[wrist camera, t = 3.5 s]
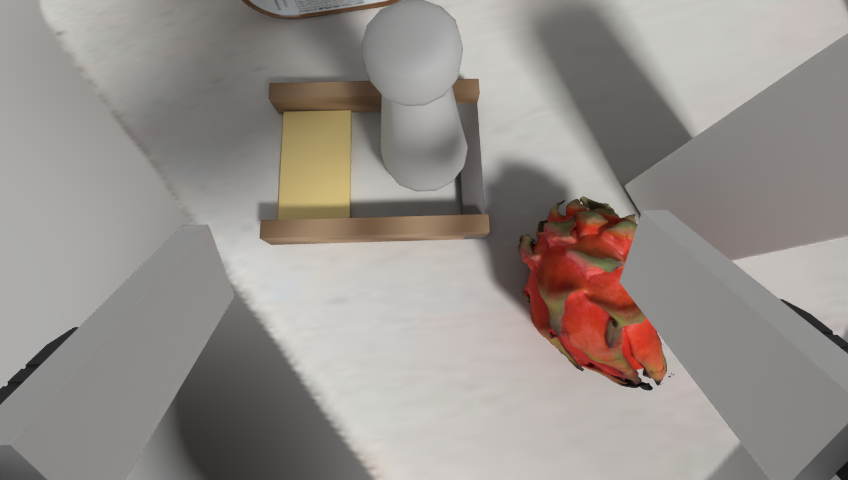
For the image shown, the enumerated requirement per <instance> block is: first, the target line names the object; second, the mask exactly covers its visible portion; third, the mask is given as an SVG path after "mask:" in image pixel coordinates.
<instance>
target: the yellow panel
mask: <svg viewBox="0 0 848 480" xmlns="http://www.w3.org/2000/svg"><path fill="white" fill-rule="evenodd" d="M350 205H351V110H337V111H293V112H284V114H283V132H282V151H281V169H280V188H279V206H278V220H296V219H332V218H350Z"/></svg>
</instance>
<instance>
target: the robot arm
mask: <svg viewBox="0 0 848 480" xmlns="http://www.w3.org/2000/svg"><path fill="white" fill-rule="evenodd" d="M619 282H620V283H621V285H622V286H623V287H624V289H625V290H626V291H627V293H628V294H629V295H630V297H631V298H632V299H633V301H634V302H635V303H636V305H637V306H638V307H639V308H640V310H641V311H642V312H643V314H644V315H645V316H646V318H647V319H648V320H649V322H650V323H651V324H652V326H653V327H654V328H655V330H656V331H657V332H658V333H659V335H660V336H661V337H662V339H663V340H664V341H665V343H666V344H667V345H668V347H669V348H670V349H671V351H672V352H673V353H674V355H675V356H676V357H677V358H678V360H679V361H680V362H681V364H682V365H683V366H684V368H685V369H686V370H687V372H688V373H689V374H690V376H691V377H692V378H693V380H694V381H695V382H696V384H697V385H698V386H699V387H700V389H701V390H702V391H703V393H704V394H705V395H706V397H707V398H708V399H709V401H710V402H711V403H712V405H713V406H714V407H715V409H716V410H717V411H718V412H719V414H720V415H721V416H722V418H723V419H724V420H725V422H726V423H727V424H728V426H729V427H730V428H731V430H732V431H733V432H734V434H735V435H736V436H737V437H738V439H739V440H740V441H741V443H742V444H743V445H744V446H745V448H746V449H747V451H748V452H749V453H750V455H751V456H752V457H753V459H754V460H755V461H756V462H757V464H758V465H759V466H760V468H761V469H762V470H763V472H764V473H765V474H766V476H767V477H768V478H769V479H770V480H830V479H831V478H833V477H834V476H835V475H837V476H838V477H839V478H840V479H841V480H848V343H847V342H845V340H843V339H842V338H841V337H839V336H838V335H833V333H832V332H833V331H832V330H830V329H829V328H828V327H826V326H825V325H824V324H823V323H821V322H820V321H819V320H817V319H816V318H815V317H814V316H812V315H811V314H809V313H808V312H806V311H804V310H802V309H800V308H798V307H796V306H794V305H792V304H790V303H789V302H787V301H785V300H783V299H778V298H777V297H776V296H775V295H773V294H772V293H771V292H770V291H768V290H767V289H766V288H765V287H763V286H762V285H761V284H760V283H758V282H757V281H756V280H754V279H753V278H752V277H751V276H749V275H748V274H747V273H746V272H744V271H743V270H742V269H741V268H739V267H738V266H737V265H736V264H734V263H733V262H732V261H731V260H729V259H728V258H727V257H726V256H724V255H723V254H722V253H721V252H719V251H718V250H717V249H716V248H714V247H713V246H712V245H711V244H709V243H708V242H707V241H706V240H704V239H703V238H702V237H700V236H699V235H698V234H697V233H695V232H694V231H693V230H692V229H690V228H689V227H688V226H687V225H685V224H684V223H683V222H682V221H680V220H679V219H678V218H677V217H675V216H674V215H673V214H672V213H670V212H669V211H668V210H648V211H642V213H641V216H640V219H639V223H638V226H637V229H636V232H635V235H634V238H633V241H632V244H631V247H630V250H629V253H628V256H627V259H626V262H625V265H624V269H623V272H622V275H621V278H620V281H619ZM233 297H234V293H233V291H232V288H231V285H230V282H229V280H228V277H227V274H226V272H225V269H224V266H223V263H222V261H221V258H220V255H219V252H218V250H217V247H216V244H215V242H214V239H213V236H212V233H211V231H210V228H209V225H184V226H181V227H180V228H179V229H178V230H177V231H176V232H175V233H174V234H173V235H172V236H171V237H170V238H169V239H168V240H167V241H166V242H165V243H164V244H163V245H162V246H161V247H160V248H159V249H158V250H157V251H156V252H155V253H154V254H153V255H152V256H151V257H150V258H149V259H148V260H147V261H146V262H145V263H144V264H143V265H142V266H141V267H140V268H139V269H138V270H137V271H136V272H135V273H134V274H133V275H132V276H131V277H130V278H129V279H127V280H126V281H125V282H124V283H123V284H122V285H121V286H120V287H119V288H118V289H117V290H116V291H115V292H114V293H113V294H112V295H111V296H110V297H109V298H108V299H107V300H106V301H105V302H104V303H103V304H102V305H101V306H100V307H99V308H98V309H97V310H96V311H95V312H94V313H93V314H92V315H91V316H90V317H89V318H88V319H87V320H86V321H85V322H84V323H83V324H82V325H81V326H80V327H74V328H72V329H71V330H69V331H68V332H66V333H65V334H63V335H61V336H60V337H58V338H57V339H55V340H54V341H52V342H51V343H49V344H47V345H46V346H45V347H44V348H43V349H42V350H41V351H40V352H39V353H38V354H37V355H36V356H35V357H33V358H32V360H30V361H29V362H28V363H27V364H26V368H25V369H21V370H20V371H19V372H18V373H17V374H16V375H14V376H13V377H12V378H11V379H10V380H9V381H8V385H7V386H3V387H2V388H1V389H0V480H126V478H127V476H128V474H129V473H130V471H131V469H132V468H133V466H134V464H135V463H136V461H137V459H138V458H139V456H140V454H141V452H142V451H143V449H144V447H145V446H146V444H147V442H148V441H149V439H150V437H151V436H152V434H153V432H154V431H155V429H156V427H157V425H158V424H159V422H160V420H161V419H162V417H163V415H164V414H165V412H166V410H167V409H168V407H169V405H170V404H171V402H172V400H173V399H174V397H175V395H176V394H177V392H178V390H179V388H180V387H181V385H182V383H183V382H184V380H185V378H186V377H187V375H188V373H189V372H190V370H191V368H192V366H193V365H194V363H195V361H196V360H197V358H198V356H199V355H200V353H201V351H202V350H203V348H204V346H205V345H206V343H207V341H208V339H209V338H210V336H211V334H212V333H213V331H214V329H215V328H216V326H217V324H218V322H219V321H220V319H221V318H222V316H223V314H224V312H225V311H226V309H227V307H228V306H229V304H230V302H231V301H232V299H233Z"/></svg>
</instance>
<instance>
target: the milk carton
mask: <svg viewBox="0 0 848 480" xmlns="http://www.w3.org/2000/svg"><path fill="white" fill-rule="evenodd" d="M624 187H625V189H626V190H627V192H628V194H629V195H630V197H631V199H632V200H633V202H634V204H635V205H636V207H637V209H638V210H639V212H640V214H641V213H642V211H648V210H668V211H669V212H670V213H672V214H673V215H674V216H675V217H677V218H678V219H679V220H680V221H682V222H683V223H684V224H685V225H687V226H688V227H689V228H690V229H692V230H693V231H694V232H695V233H697V234H698V235H699V236H700V237H702V238H703V239H704V240H706V241H707V242H708V243H709V244H711V245H712V246H713V247H714V248H716V249H717V250H718V251H719V252H721V253H722V254H723V255H724V256H726V257H727V258H728V259H729V260H731V261H737V260H741V259H746V258H751V257H756V256H761V255H766V254H771V253H775V252H780V251H785V250H790V249H795V248H800V247H805V246H809V245H814V244H819V243H824V242H829V241H834V240H839V239H843V238H848V34H847V35H845V36H843V37H841V38H840V39H838V40H837V41H835V42H834V43H832V44H831V45H829V46H828V47H826V48H825V49H823V50H822V51H820V52H819V53H817V54H816V55H814V56H813V57H812V58H810V59H809V60H807V61H806V62H804V63H803V64H801V65H800V66H798V67H797V68H795V69H794V70H792V71H791V72H790V73H788V74H787V75H785V76H784V77H782V78H781V79H779V80H778V81H776V82H775V83H773V84H772V85H771V86H769V87H768V88H766V89H765V90H763V91H762V92H760V93H759V94H757V95H756V96H754V97H753V98H752V99H750V100H749V101H747V102H746V103H744V104H743V105H741V106H740V107H738V108H737V109H735V110H734V111H733V112H731V113H730V114H728V115H727V116H725V117H724V118H722V119H721V120H719V121H718V122H716V123H715V124H714V125H712V126H711V127H709V128H708V129H706V130H705V131H703V132H702V133H700V134H699V135H697V136H696V137H695V138H693V139H692V140H690V141H689V142H687V143H686V144H684V145H683V146H681V147H680V148H678V149H677V150H676V151H674V152H673V153H671V154H670V155H668V156H667V157H665V158H664V159H662V160H661V161H659V162H658V163H657V164H655V165H654V166H652V167H651V168H649V169H648V170H646V171H645V172H643V173H642V174H640V175H639V176H637V177H636V178H635V179H633V180H632V181H630V182H629V183H627V184H626V185H625V186H624Z"/></svg>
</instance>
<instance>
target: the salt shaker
mask: <svg viewBox="0 0 848 480" xmlns="http://www.w3.org/2000/svg"><path fill="white" fill-rule="evenodd" d="M462 51H463V47H462V42H461V37H460V34H459V30H458V27H457V24H456V21H455V19H454V18H453V17H452V16H451V15H450V14H449V13H448V12H446V11H445V10H444V9H443V8H442V7H441V6H439V5H436V4H433V3H430V2H427V1H424V0H403V1H399V2H397V3H395V4H392V5H390V6H388V7H386V8H384V9H382V10H380V11H379V12H378V13H377V15H376V16H375V17H374V18H373V19H372V20H371V21H370V23H369V24H368V25H367V28H366V31H365V35H364V38H363V41H362V54H363V59H364V62H365V66H366V70H367V74H368V76H369V78H370V81H371V83H372V84H373V85H374V86H375V87H376V88H377V89H378V91H379V92H380V93H381V94H382V108H381V154H382V158H383V162H384V165H385V169H386V170H387V171H388V172H389V173H390V175H391V176H392V177H393V178H394V179H395V180H396V182H397V183H398V184H399V185H402V186H404V187H407V188H409V189H412V190H414V191H435V190H437V189H439V188H441V187H443V186H445V185H447V184H449V183H451V182H452V181H453V180H454V179H455V177H456V176H457V175H458V174H459V172H460V171H461V170H462V169H463V167H464V164H465V159H466V154H467V149H468V146H467V143H466V139H465V136H464V132H463V129H462V125H461V121H460V117H459V113H458V109H457V105H456V101H455V97H454V92H453V88H452V85H453V84H454V83H455V82H456V80H457V78H458V75H459V70H460V64H461V59H462Z"/></svg>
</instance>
